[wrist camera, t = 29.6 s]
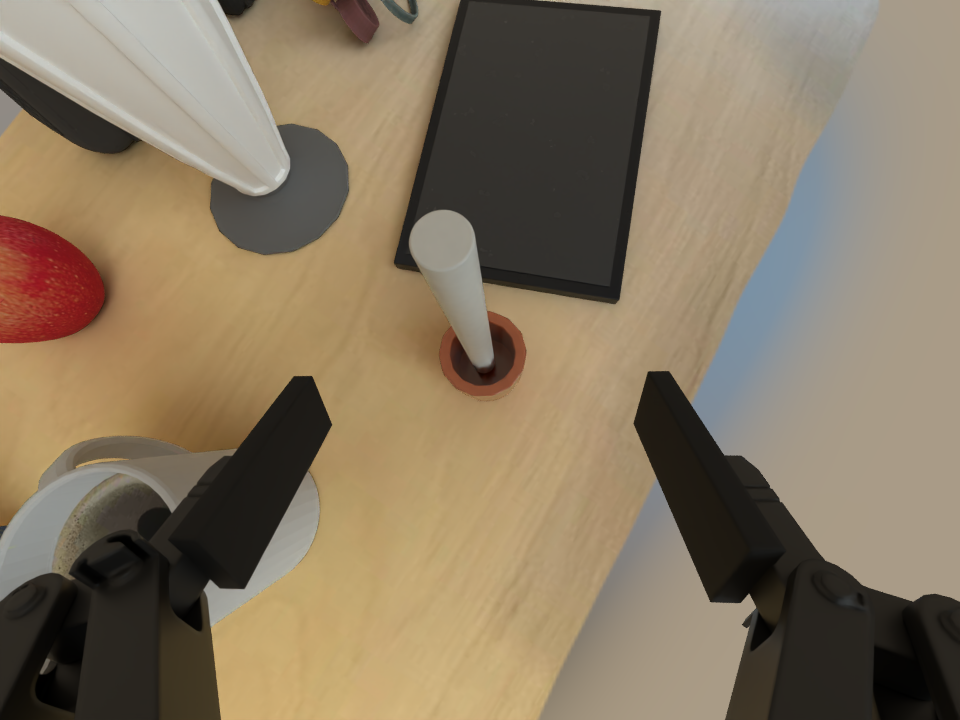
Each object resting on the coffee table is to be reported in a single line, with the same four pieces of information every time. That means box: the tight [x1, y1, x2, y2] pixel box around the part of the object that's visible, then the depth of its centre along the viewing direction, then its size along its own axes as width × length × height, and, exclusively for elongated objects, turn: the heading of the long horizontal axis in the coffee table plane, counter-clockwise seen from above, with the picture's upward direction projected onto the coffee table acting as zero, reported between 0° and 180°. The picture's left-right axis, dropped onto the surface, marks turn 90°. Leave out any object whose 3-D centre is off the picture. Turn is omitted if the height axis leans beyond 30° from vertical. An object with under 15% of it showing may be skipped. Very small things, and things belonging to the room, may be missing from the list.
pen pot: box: [439, 311, 526, 401], centre depth 22 cm, size 5×5×5 cm
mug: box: [0, 436, 320, 674], centre depth 19 cm, size 11×10×10 cm
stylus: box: [409, 210, 495, 373], centre depth 16 cm, size 1×1×17 cm
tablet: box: [394, 0, 661, 304], centre depth 27 cm, size 16×24×1 cm, turn 169°
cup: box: [0, 0, 349, 255], centre depth 17 cm, size 12×12×22 cm
